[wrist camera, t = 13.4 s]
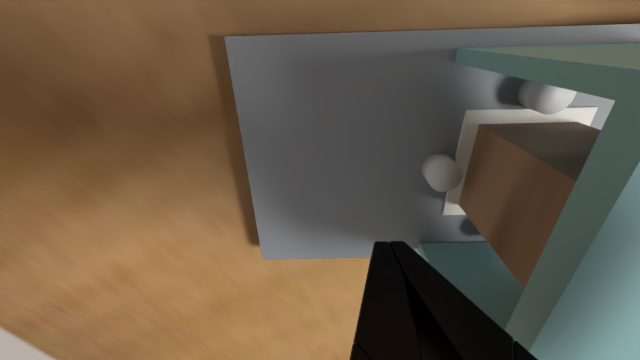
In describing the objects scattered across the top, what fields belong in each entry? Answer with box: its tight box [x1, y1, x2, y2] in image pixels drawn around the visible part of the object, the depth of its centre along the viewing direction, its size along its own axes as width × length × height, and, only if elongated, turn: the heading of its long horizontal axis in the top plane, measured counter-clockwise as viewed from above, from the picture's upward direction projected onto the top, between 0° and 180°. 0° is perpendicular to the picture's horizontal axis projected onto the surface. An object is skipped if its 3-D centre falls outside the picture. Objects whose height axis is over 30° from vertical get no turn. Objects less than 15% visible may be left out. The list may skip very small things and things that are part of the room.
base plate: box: [224, 24, 640, 259], centre depth 12 cm, size 17×11×2 cm, turn 92°
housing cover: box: [418, 43, 640, 360], centre depth 9 cm, size 7×10×7 cm
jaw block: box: [458, 122, 601, 289], centre depth 10 cm, size 4×4×6 cm
